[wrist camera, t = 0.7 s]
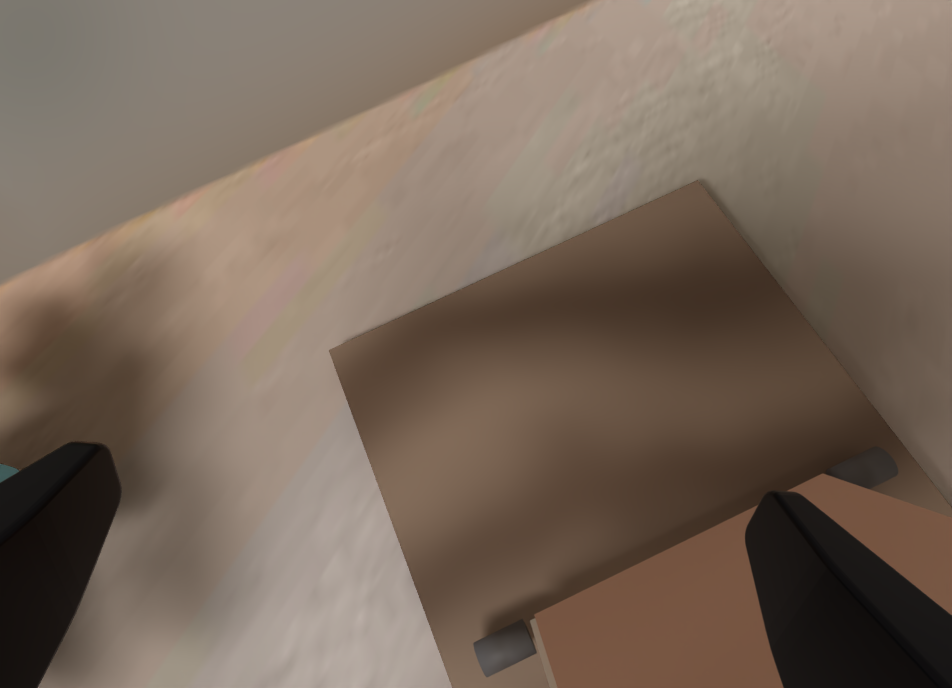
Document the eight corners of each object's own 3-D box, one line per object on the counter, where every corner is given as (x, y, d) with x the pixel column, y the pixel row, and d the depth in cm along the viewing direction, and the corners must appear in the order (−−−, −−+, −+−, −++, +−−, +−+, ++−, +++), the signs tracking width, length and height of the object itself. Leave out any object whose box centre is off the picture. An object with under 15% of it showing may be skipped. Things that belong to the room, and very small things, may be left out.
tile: (1307, 684, 8) (1279, 619, 8) (660, 1025, 8) (627, 957, 8) (837, 498, 18) (823, 469, 18) (541, 644, 18) (526, 614, 18)
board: (1093, 715, 17) (1158, 731, 15) (569, 988, 16) (570, 1040, 14) (693, 192, 25) (704, 160, 23) (335, 357, 24) (317, 338, 22)
